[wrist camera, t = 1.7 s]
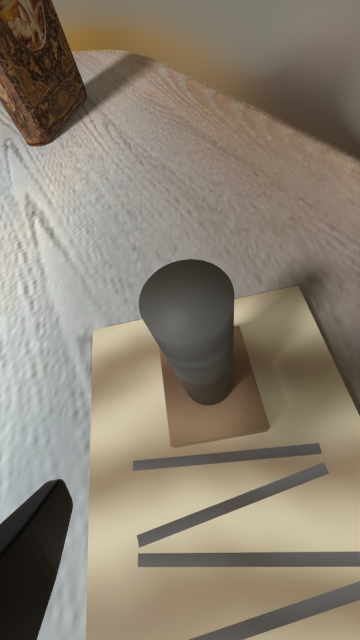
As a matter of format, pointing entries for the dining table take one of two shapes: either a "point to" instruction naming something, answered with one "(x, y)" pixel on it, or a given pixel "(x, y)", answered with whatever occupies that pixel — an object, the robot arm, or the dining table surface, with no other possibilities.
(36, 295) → the dining table surface
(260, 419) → the grey post on base
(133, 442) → the birch board
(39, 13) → the book
